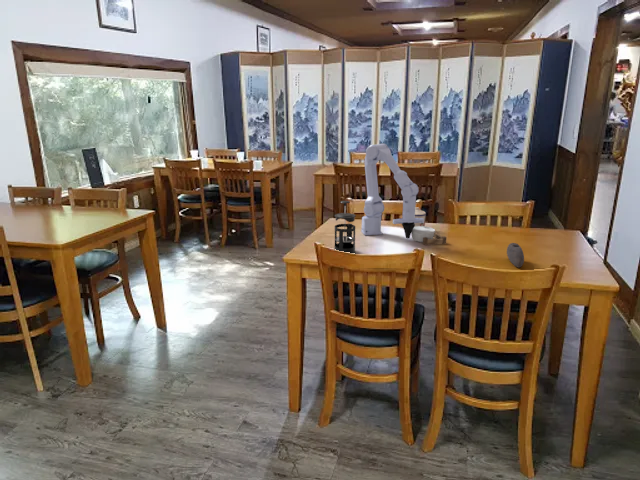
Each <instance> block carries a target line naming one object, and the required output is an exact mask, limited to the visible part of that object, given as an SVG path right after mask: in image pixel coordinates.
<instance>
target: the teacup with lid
mask: <svg viewBox="0 0 640 480" xmlns="http://www.w3.org/2000/svg"><path fill="white" fill-rule="evenodd" d="M426 215H427V213H426V212H425V211H424V210H422V209H420V207H419V206H418V207H416V206H415V218H423V219H424V223H414V224H415V227H416V226H425V225H426ZM425 227H426V226H425Z"/></svg>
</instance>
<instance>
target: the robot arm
mask: <svg viewBox="0 0 640 480" xmlns="http://www.w3.org/2000/svg"><path fill="white" fill-rule="evenodd" d="M379 161H380V162H381V161H382V162H384V163H385V164H386V165H387V168H389V170H390V171H391V172H392V173H393V179H394V180H395V182H396V183H397V185H398V187H399V188H400V189H401V190H400V193H401V195H402V216H401V218H396V219H395V218H393V219H392V225H393V224H394V225H397V224H401V226H402V228H403V230H404V235H405V238H406V239H408V240H409V239H410V237H411V235H412V233H411V232H412V230H413V228H414V227H415V224H414V223H424V219H423V218H415V208H416V205H417V202H416V201H417V195H418V194H419V192H420V191H419V190H420V189H419V186H418V184H416V183H414V182H413V181H412V180H411V179H410V178H409V176H408V173H407V172H406V171H405V170H401V168H400V167H399V165H398V163H397V162H396V160H395V157H393V155H392V153H391V149H390V148H389V146H388V145H387V144H386V143H376V144H370V145H368V147H367V148H366V149H365V157H364V163H363V164H364V171H365V173H364V174H365V183H366V192H367V193H366V194H367V198H366V199H365V200H364V207H363V212H364V214H365V215H363V216H362V217H361V230H360V231H361V233H362V234H363V235H364V236H379V235H384V233H383V232H382V215H383V213H384V211H385V204H384V202H383V199H382V198H381V196H380V194H379V185H378V184H379V183H378V182H379V181H378V172H377V164H378V163H379Z"/></svg>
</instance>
